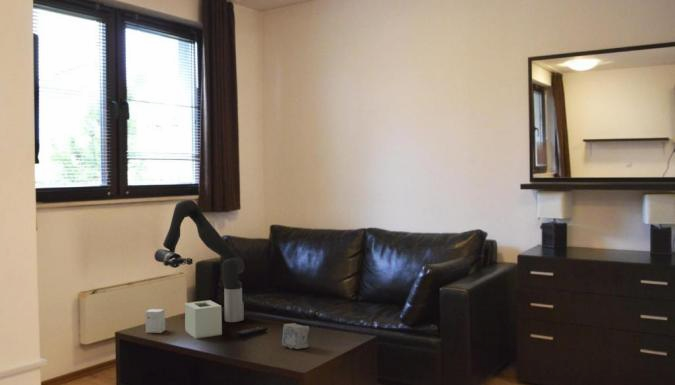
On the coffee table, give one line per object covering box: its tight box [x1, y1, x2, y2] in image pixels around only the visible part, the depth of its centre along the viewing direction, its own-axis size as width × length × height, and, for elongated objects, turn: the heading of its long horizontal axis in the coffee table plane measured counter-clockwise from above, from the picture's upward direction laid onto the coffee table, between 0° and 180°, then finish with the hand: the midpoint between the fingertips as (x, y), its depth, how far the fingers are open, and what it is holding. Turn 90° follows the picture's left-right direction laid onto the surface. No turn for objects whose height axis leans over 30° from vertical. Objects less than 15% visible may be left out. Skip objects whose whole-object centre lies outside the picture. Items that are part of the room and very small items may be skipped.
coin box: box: [184, 299, 223, 340], centre depth 295 cm, size 13×16×14 cm
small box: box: [144, 308, 166, 334], centre depth 298 cm, size 8×6×10 cm
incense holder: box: [281, 322, 310, 350], centre depth 269 cm, size 10×8×10 cm
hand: (182, 263), depth 309 cm, fingers open, 8 cm apart
